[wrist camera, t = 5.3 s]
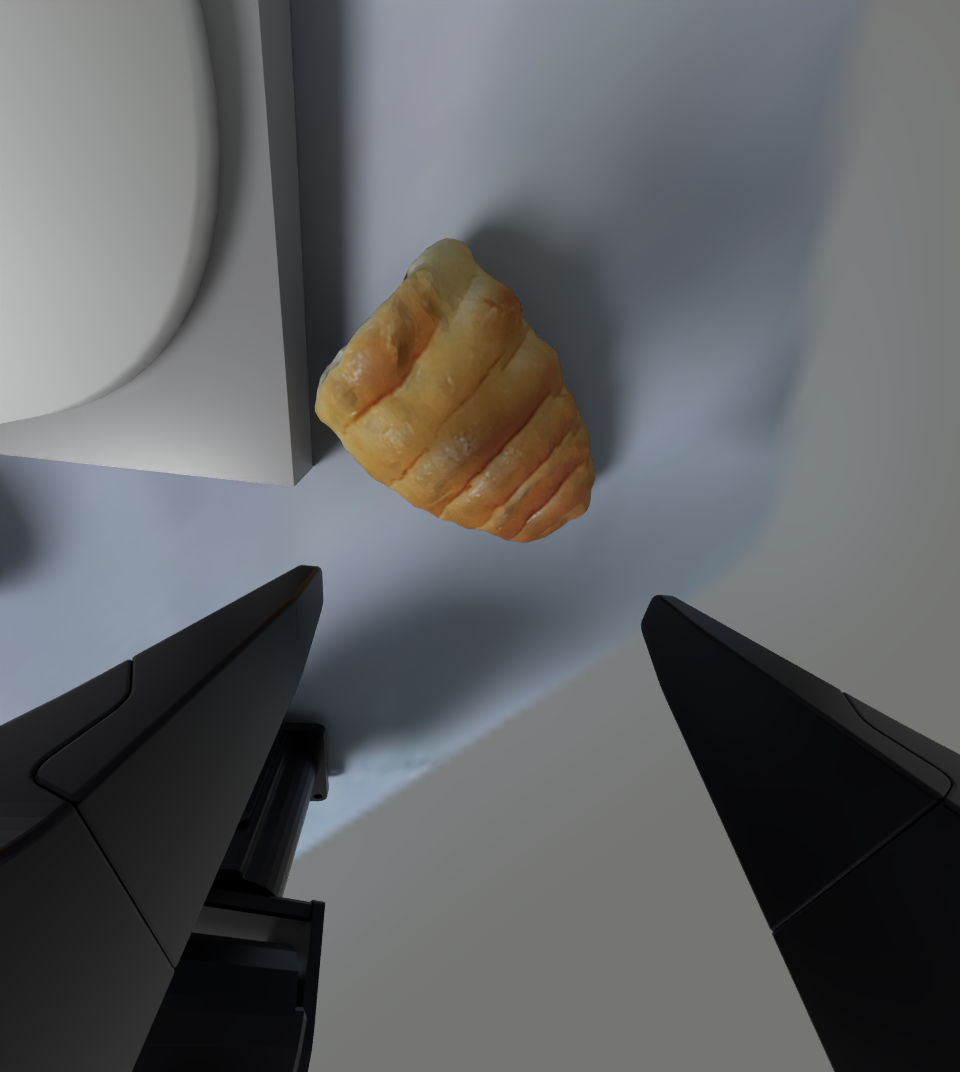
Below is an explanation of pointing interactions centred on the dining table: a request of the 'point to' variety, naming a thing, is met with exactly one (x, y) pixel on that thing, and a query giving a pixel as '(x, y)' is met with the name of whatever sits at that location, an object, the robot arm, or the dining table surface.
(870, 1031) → the robot arm
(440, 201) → the dining table surface
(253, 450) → the scale
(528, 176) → the dining table surface
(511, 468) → the pastry
